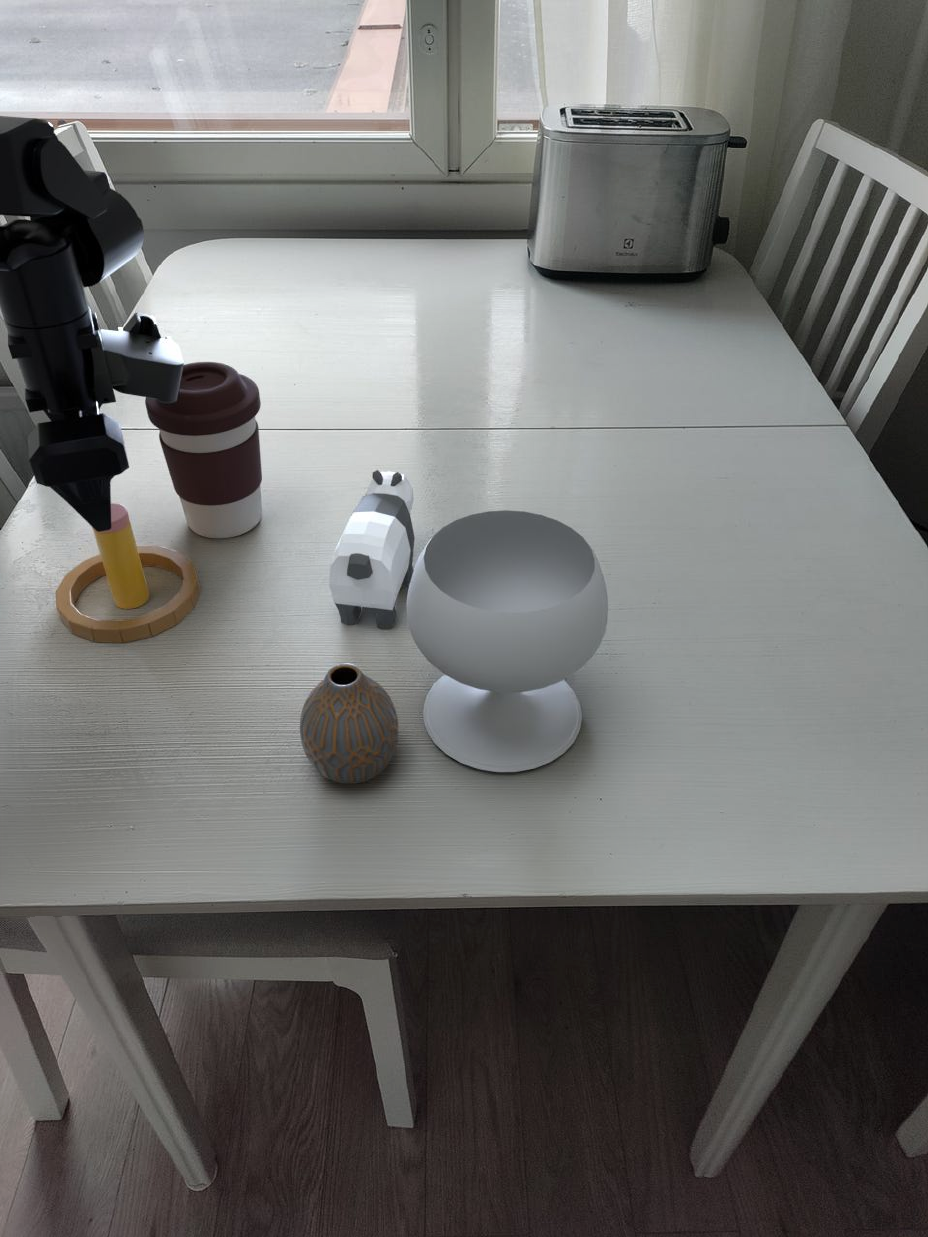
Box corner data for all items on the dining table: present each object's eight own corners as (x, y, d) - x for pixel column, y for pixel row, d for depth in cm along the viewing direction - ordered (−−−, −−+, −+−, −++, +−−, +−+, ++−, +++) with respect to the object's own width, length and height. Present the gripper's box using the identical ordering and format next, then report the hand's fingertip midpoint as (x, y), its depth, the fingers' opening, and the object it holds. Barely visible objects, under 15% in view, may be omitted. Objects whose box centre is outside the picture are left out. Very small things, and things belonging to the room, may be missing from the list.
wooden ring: (140, 658, 78) (136, 645, 77) (30, 619, 82) (25, 605, 81) (226, 578, 86) (223, 565, 86) (122, 546, 90) (118, 533, 89)
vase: (355, 815, 66) (346, 727, 60) (285, 768, 69) (270, 681, 64) (419, 756, 70) (416, 668, 65) (350, 714, 74) (341, 627, 68)
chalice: (546, 637, 80) (558, 485, 71) (626, 755, 71) (653, 596, 61) (387, 678, 77) (377, 523, 67) (448, 808, 67) (447, 648, 57)
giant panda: (394, 639, 80) (388, 546, 74) (330, 631, 81) (319, 539, 75) (429, 539, 91) (427, 451, 85) (373, 533, 92) (367, 446, 86)
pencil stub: (134, 613, 83) (110, 526, 77) (107, 603, 84) (81, 517, 78) (156, 593, 85) (134, 508, 79) (129, 584, 86) (106, 499, 80)
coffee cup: (266, 550, 90) (243, 404, 80) (161, 547, 90) (126, 402, 80) (284, 492, 97) (265, 353, 88) (187, 490, 98) (158, 351, 88)
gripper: (180, 349, 63) (218, 542, 73) (149, 254, 76) (185, 428, 86) (-1, 375, 60) (65, 573, 70) (0, 271, 73) (55, 450, 83)
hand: (100, 498), depth 78 cm, fingers open, 9 cm apart
